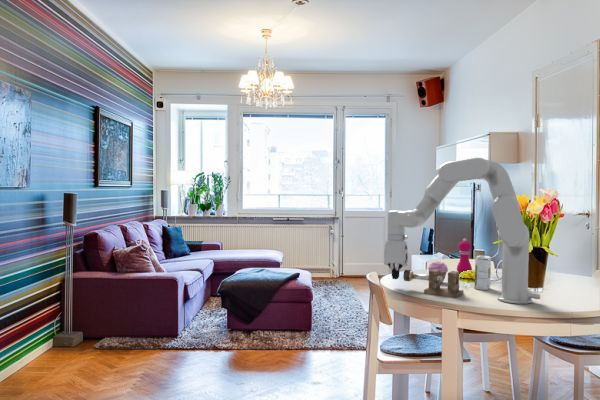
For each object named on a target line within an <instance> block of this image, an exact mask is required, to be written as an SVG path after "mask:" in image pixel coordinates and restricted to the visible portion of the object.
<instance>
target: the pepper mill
mask: <svg viewBox="0 0 600 400" xmlns="http://www.w3.org/2000/svg"><path fill="white" fill-rule="evenodd" d="M471 248H472V245H471V243H470V242H469V241H468V240H467V238H463V239H462V241H460V242H459V243H458V249H459V254H460V255H459V256H460V257H459V261H458V263H457V267H456V271H457V272H459V274H460V273H461V272H463V271H467V270H472V271H473V268H472V264H471V262H470V257H469V256H470V253H471V251H470V250H471Z"/></svg>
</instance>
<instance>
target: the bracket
mask: <svg viewBox="0 0 600 400" xmlns="http://www.w3.org/2000/svg"><path fill="white" fill-rule="evenodd" d="M428 275H429V281H428V287H427V288H425V289H424V290H423V294H425V295H426V294H427V295H434V296H441V297H448V298H449V297H450V298H455V299H458V298H459V297H461V296H463V295H464V290H463V289H460V278H459V272H458V271H457V270H451V271H448V272H447V288H445V287H441V283H440V282H437V276H440V270H437V269H433V270H430V271H429V270H428Z"/></svg>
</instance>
